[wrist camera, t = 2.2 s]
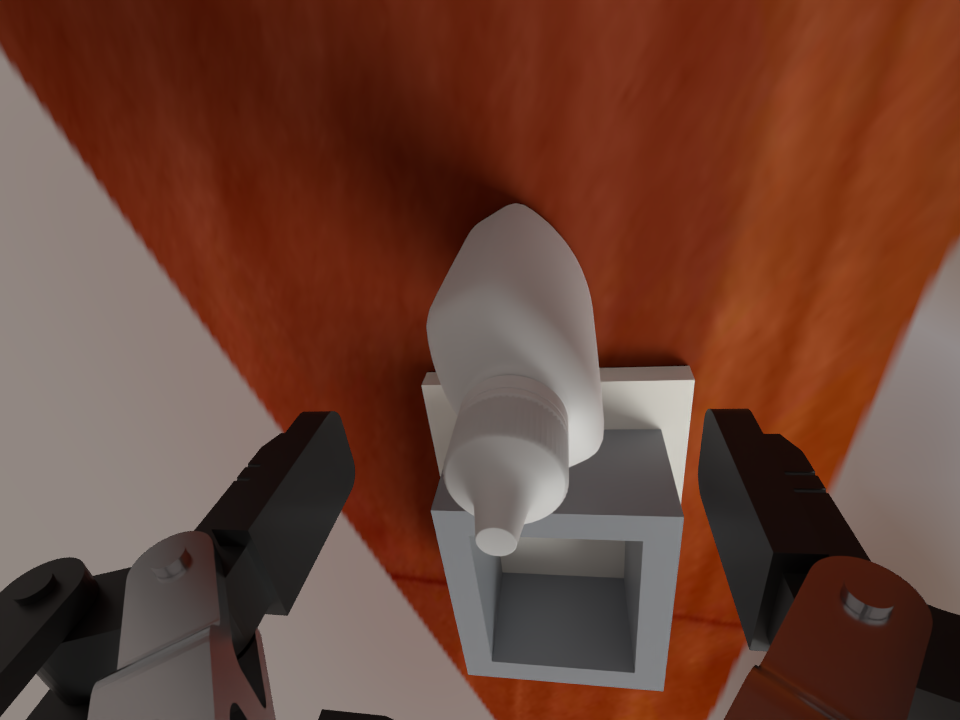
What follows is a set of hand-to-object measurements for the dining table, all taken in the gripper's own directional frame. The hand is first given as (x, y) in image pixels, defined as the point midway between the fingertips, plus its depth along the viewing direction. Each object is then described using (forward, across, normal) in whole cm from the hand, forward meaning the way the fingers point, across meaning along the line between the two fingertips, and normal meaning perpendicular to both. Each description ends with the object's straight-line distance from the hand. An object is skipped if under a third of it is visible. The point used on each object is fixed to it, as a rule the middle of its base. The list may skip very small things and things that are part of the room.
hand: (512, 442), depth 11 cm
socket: (+9, 0, +11) cm, 14 cm away
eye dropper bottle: (+9, 0, -1) cm, 9 cm away
